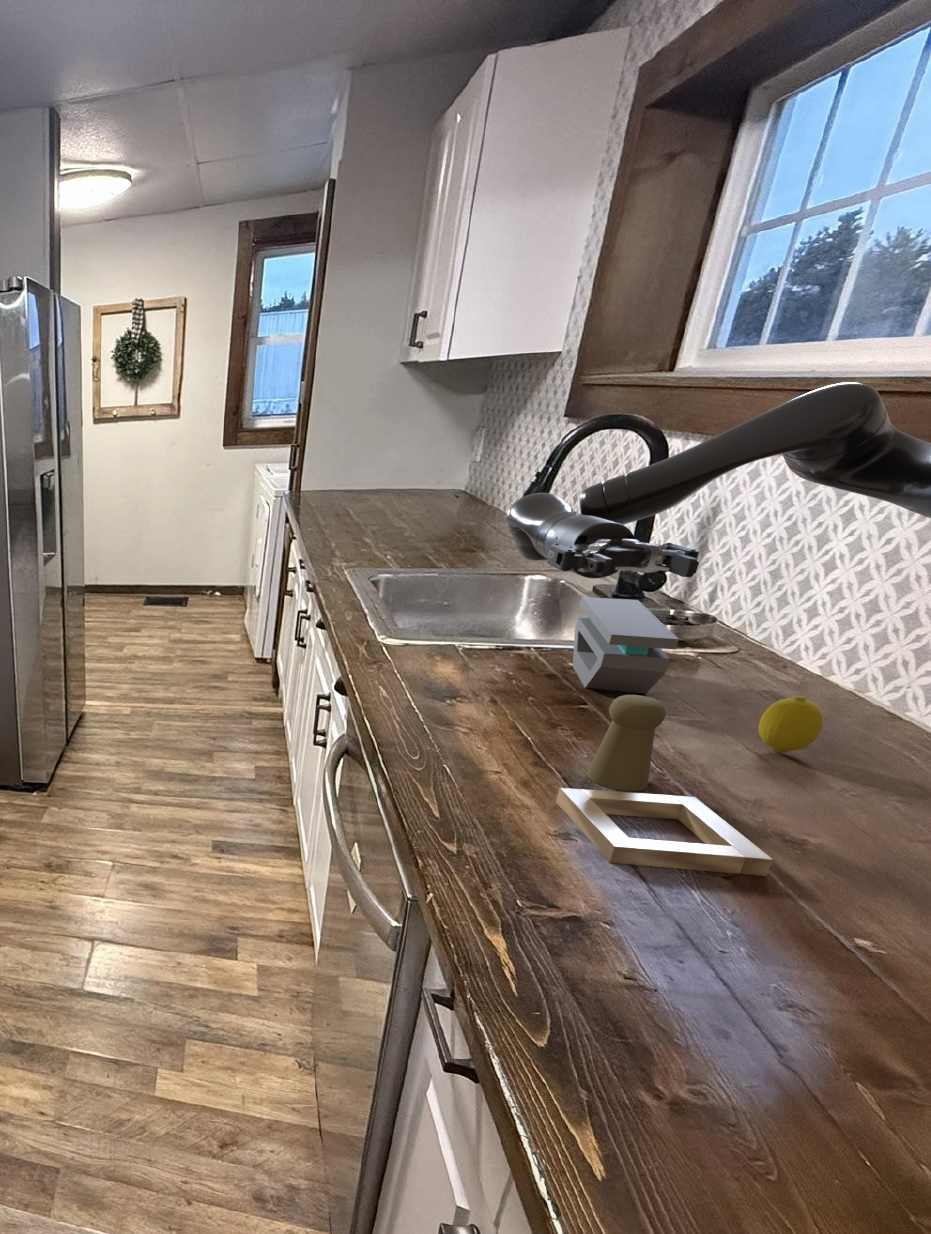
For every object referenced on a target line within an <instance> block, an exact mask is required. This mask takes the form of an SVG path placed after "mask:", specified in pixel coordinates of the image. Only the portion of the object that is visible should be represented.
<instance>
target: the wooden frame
mask: <svg viewBox="0 0 931 1234" xmlns="http://www.w3.org/2000/svg"><path fill="white" fill-rule="evenodd" d="M555 804H556V805H557V806H559V807H560V809H561V810H562V811H563V812H564V813H565V815H567V817H568V818H569V819H570V820H571V821H572V822H573V824H574V825H575V826H576V827H577V828H578V829H579V830H580V831H581V832H582V834H583V835H584V836H585V837H586V838H587V839H588V840H589V842H590V843H591V844H592V845H593V846H594V847H595V848H596V849H597V850H598V851H599V853H600V854H601V855H602V856H603V858H605V859H606V860H607V862H608V863H610V864H621V865H629V866H630V865H634V866H641V867H642V866H644V867H654V868H665V869H666V868H667V869H678V870H692V871H700V872H701V871H702V872H712V873H723V874H735V875H745V876H758V877H767V876H768V874H769V871H770V869H771V866H772V864H773V861H774V859H773V858H772V857H770V855H768V854H767V853H766V852H764V851H763V850H762V849H760V847H758V846H757V845H756V844H754V843H753V842H752V841H750V840H749V839H748V838H747V837H746V836H744V835H743V834H742V833H741V832H740V831H738V830H737V829H736V828H735V827H733V826H732V825H731V824H729V823H728V822H727V821H726V820H724V819H723V818H722V817H721V816H719V815H718V814H717V813H715V812H714V811H713V810H712V809H711V808H709V807H708V806H707V805H706V804H705V803H703V802H702V801H701V800H699V799H698V798H697V797H696V796H687V795H686V796H685V795H672V794H661V793H660V794H658V793H646V792H645V793H644V792H631V791H616V790H615V791H613V790H601V789H600V790H599V789H585V788H569V787H559V790H558V792H557V797H556V801H555ZM608 815H613V816H623V817H624V816H625V817H639V818H653V819H665V820H678V821H679V822H680V823H681V824H682V825H683V826H685V828H687V829H688V831H690V832H691V833H692V834H694V835H695V836H696V837H697V838H698V839H699V840H701V841H702V842H703V843H699V842H686V841H685V842H684V841H675V840H674V841H673V840H660V839H650V838H649V839H648V838H637V837H636V838H635V837H629V836H628V835H627V834H626V833H625V832H624V831H623V829H621V828H620V827H619V826H618V825H617V824H616V823H615V822H614V821H613V820H612V819H611V818H610V817H609V816H608Z"/></svg>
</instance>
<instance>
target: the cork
mask: <svg viewBox="0 0 931 1234" xmlns="http://www.w3.org/2000/svg"><path fill="white" fill-rule="evenodd" d="M608 713H609V717H610V719H611V722H610V724H609V726H608V728H607V730H606V732H605V734H604V737H603V739H602V741H601V743H600V745H599V747H598V749H597V751H596V753H595V755H594V757H593V760H592V761H591V763H590V765H589V768H588V770H587V771H586V774H587V775H586V777H587V779H589V780H590V781H591V780H592V781H591V782H593V783H595V784H597V785H599V786H602V787H605V788H609V789H613V790H618V791H623V792H639V791H644V790H647V788H648V786H649V780H650V779H649V778H650V771H651V762H652V755H653V748H654V740H655V733H656V729H657V727H659V726H661V724H662V723H663V722H664V721H665V718H666V715H667V708H666V707H665V705H664V703H663V702H661V701H660V700H658V699H656V698H654V697H649V696H646V695H640V694H639V695H638V694H624V695H621V696H618V697H616V698H615V699H614V700H613V701H612V702H611V704H610V706H609V709H608Z"/></svg>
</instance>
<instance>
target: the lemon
mask: <svg viewBox="0 0 931 1234" xmlns="http://www.w3.org/2000/svg"><path fill="white" fill-rule="evenodd" d="M823 720H824V718H823V713H822V710H821V709H820V707H818V705H817V704H815V703H814V702H813V701H810V700H808V699H806V697H805V696H801V695H797V696H795V697H787V698H783V699H780V700H779V699H778V700H777V701H775V702H773V703H772V704H771V705H769V707H767V708H766V709H765V711H764V712H763V714H762V716H761V718H760V720H759V723H758V724H759V725H758V735H759V737H760V739H761V740H762V741H763V743H765V744H766V745H767V746H769V747H771V748H772V749H773V750H774V752H775V753H777V754H785V753H786V752H787V753H788V752H792V751H799V750H801V749H804V748H807V747H809V746H810V745H812V744H813V743H814V742H815V741H816V740H817V738H818V737H819V736H820V733H821V731H822V728H823Z"/></svg>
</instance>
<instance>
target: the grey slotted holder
mask: <svg viewBox="0 0 931 1234" xmlns="http://www.w3.org/2000/svg"><path fill="white" fill-rule="evenodd" d="M579 607H580V608H581V610H582V611H583V613H584V614H585V615H586V616H578V617H577V618H576V619H577V620H576V623H575V627H574V640H573V657H572V668H573V670H574V671H575V673H576V675H577V677H578V678H579V680H580V682H581V684H582V686H583V687H584V688H585V689H593V690H604V691H614V692H626V693H633V694H634V693H635V694H645V695H646V694H647V693H648V692H649V691H650V690H652V688H653V687H654V686H655V685H656V684H657V683H658V682H659V681H660V680H661V679H662V678H663V676H664V675H665V674H667V670H668V666H669V664H670V661H671V658H670V657H669V655H667V653H666V652H665V651H664V650H663V649H665V650H677V647H678V645H679V641H680V638H679V637H678V636H676V635H675V634H674V633H673V632H672V631H671V630H670V629H669V628H668V627H667V626H666V625H665V624H664V623H663V622H662V621H660V619H659V618H657V616H655V614H653V612H651V611H650V610H649V609H648V608H647V607H646V606H645V605H644V604H643V603H642V602H641V601H640V600H639V599H627V598H626V599H625V598H609V597H608V598H606V597H589V596H581V599H580V601H579Z"/></svg>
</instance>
